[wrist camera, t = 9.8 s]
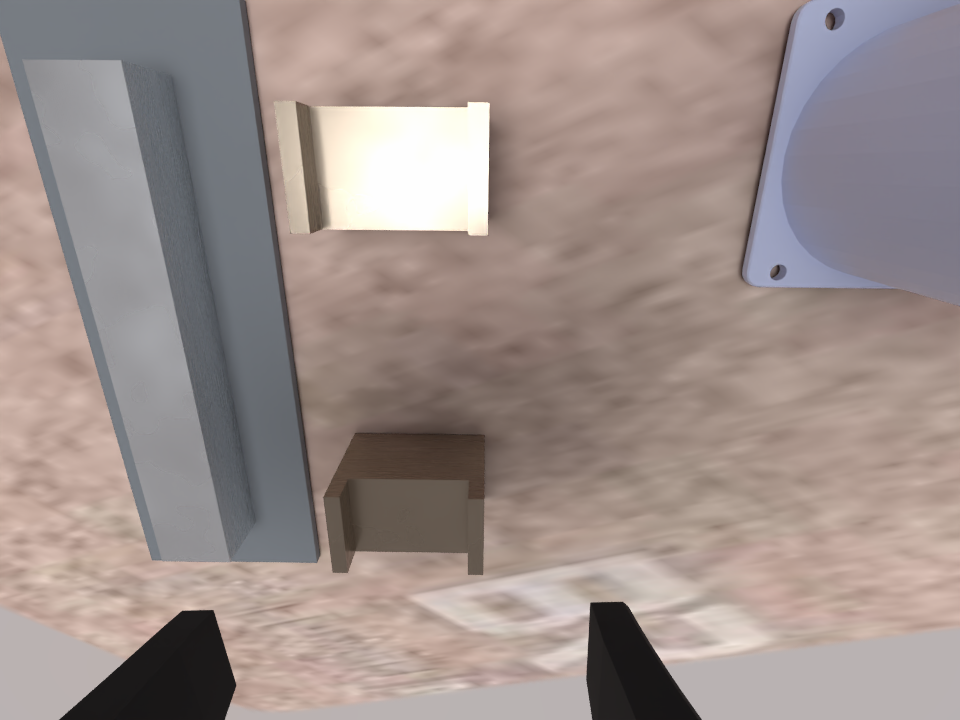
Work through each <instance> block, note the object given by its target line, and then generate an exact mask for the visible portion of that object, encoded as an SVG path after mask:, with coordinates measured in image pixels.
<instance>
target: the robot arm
mask: <svg viewBox="0 0 960 720" xmlns="http://www.w3.org/2000/svg"><path fill="white" fill-rule="evenodd" d="M829 12H830V13H833V15H834V16H835V25H834V27H833V29H832V30H829V29H828V28H827V27H826V25H825V18H826V16H827V14H828V13H829ZM776 265H779V266H780V271H779V273H778V275H776V276H775V277H773V278H771V277H770V272H771V270H772V268H773V267H774V266H776ZM742 276H743V278H744V280H745V281H746V282H747V283H748V284H750V285H752V286H756V287H787V288H882V289H902V290H905V291H908V292H912V293H915V294H919V295H922V296H926V297H929V298H933V299H936V300H940V301H943V302H947V303H950V304H954V305H957V306H960V0H811V1H809V2H807V3H806V4H804V5H803V6H801V7H800V8H799V9H798V10H797V11H796V13H795V14H794V16H793V19H792V22H791V26H790V31H789V36H788V42H787V47H786V52H785V57H784V62H783V67H782V72H781V77H780V82H779V87H778V92H777V97H776V102H775V107H774V112H773V118H772V123H771V128H770V133H769V138H768V143H767V148H766V153H765V158H764V163H763V168H762V173H761V178H760V183H759V189H758V194H757V199H756V204H755V209H754V214H753V219H752V224H751V229H750V234H749V239H748V244H747V249H746V254H745V259H744V265H743V270H742ZM586 678H587V679H586V680H587V687H588V693H589V700H590V707H591V714H592V720H702V719H701V718H700V717H699V715H698V714H697V713H696V711H695V709H694V708H693V707H692V705H691V704H690V702H689V701H688V700H687V698H686V697H685V695H684V694H683V693H682V691H681V690H680V688H679V687H678V685H677V684H676V682H675V681H674V679H673V678H672V676H671V675H670V673H669V672H668V670H667V669H666V667H665V666H664V664H663V663H662V661H661V660H660V658H659V656H658V655H657V653H656V652H655V650H654V649H653V647H652V645H651V644H650V642H649V641H648V639H647V637H646V636H645V634H644V633H643V631H642V629H641V628H640V626H639V624H638V622H637V621H636V619H635V617H634V616H633V614H632V612H631V610H630V609H629V607H628V606H627V605H626V604H625V603H624V602H595V603H590V620H589V639H588V658H587V677H586ZM235 688H236V682H235V679H234V676H233V673H232V669H231V666H230V663H229V659H228V656H227V653H226V650H225V646H224V643H223V640H222V637H221V633H220V630H219V627H218V623H217V620H216V617H215V614H214V610H198V611H182V612H180V613H179V614H178V615H177V616H176V617H175V618H173V619H172V620H171V621H170V622H169V623H168V624H166V625H165V626H164V627H163V628H162V629H161V630H160V631H158V632H157V633H156V634H155V635H154V636H153V637H152V638H151V639H149V640H148V641H147V642H146V643H145V644H144V645H143V646H142V647H141V648H139V649H138V650H137V651H136V652H135V653H134V654H133V655H132V656H131V657H129V658H128V659H127V660H126V661H125V662H124V663H123V664H122V665H121V666H120V667H118V668H117V669H116V670H115V671H114V672H113V673H112V674H110V675H109V676H108V677H107V678H106V679H105V680H104V681H103V682H101V683H100V684H99V685H98V686H97V687H96V688H95V689H94V690H92V691H91V692H90V693H89V694H88V695H87V696H86V697H84V698H83V699H82V700H81V701H80V702H79V703H78V704H77V705H76V706H74V707H73V708H72V709H71V710H70V711H69V712H68V713H66V714H65V715H64V716H63V717H62V718H61V719H60V720H225V717H226V714H227V711H228V708H229V705H230V702H231V700H232V697H233V694H234V691H235Z"/></svg>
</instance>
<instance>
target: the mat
mask: <svg viewBox="0 0 960 720" xmlns="http://www.w3.org/2000/svg"><path fill="white" fill-rule="evenodd" d="M0 35H1V38H2V42H3V45H4V49H5V52H6V56H7V59H8V62H9V66H10V69H11V73H12V76H13V80H14V83H15V87H16V90H17V94H18V97H19V101H20V104H21V107H22V111H23V114H24V118H25V121H26V125H27V128H28V132H29V135H30V139H31V142H32V146H33V149H34V153H35V156H36V159H37V163H38V166H39V170H40V173H41V177H42V180H43V184H44V187H45V191H46V194H47V198H48V201H49V205H50V208H51V211H52V215H53V218H54V222H55V225H56V229H57V232H58V236H59V239H60V243H61V246H62V250H63V253H64V257H65V260H66V263H67V267H68V270H69V274H70V277H71V281H72V284H73V288H74V291H75V295H76V298H77V302H78V305H79V309H80V312H81V315H82V319H83V322H84V326H85V329H86V333H87V336H88V340H89V343H90V347H91V350H92V354H93V357H94V360H95V364H96V367H97V371H98V374H99V378H100V381H101V385H102V388H103V392H104V395H105V399H106V402H107V406H108V409H109V412H110V416H111V419H112V423H113V426H114V430H115V433H116V437H117V440H118V444H119V447H120V451H121V454H122V458H123V461H124V464H125V468H126V471H127V475H128V478H129V482H130V485H131V489H132V492H133V496H134V499H135V503H136V506H137V510H138V513H139V516H140V520H141V523H142V527H143V530H144V534H145V537H146V541H147V544H148V548H149V551H150V555H151V558H152V560H162V559H161V555H160V551H159V548H158V544H157V541H156V537H155V534H154V530H153V526H152V523H151V519H150V516H149V512H148V508H147V505H146V501H145V498H144V494H143V491H142V487H141V483H140V480H139V476H138V473H137V469H136V466H135V462H134V458H133V455H132V451H131V448H130V444H129V440H128V437H127V433H126V430H125V426H124V423H123V419H122V415H121V412H120V408H119V405H118V401H117V398H116V394H115V390H114V387H113V383H112V380H111V376H110V372H109V369H108V365H107V362H106V358H105V355H104V351H103V347H102V344H101V340H100V337H99V333H98V330H97V326H96V322H95V319H94V315H93V312H92V308H91V304H90V301H89V297H88V294H87V290H86V287H85V283H84V279H83V276H82V272H81V269H80V265H79V262H78V258H77V254H76V251H75V247H74V244H73V240H72V236H71V233H70V229H69V226H68V222H67V219H66V215H65V211H64V208H63V204H62V201H61V197H60V193H59V190H58V186H57V183H56V179H55V176H54V172H53V168H52V165H51V161H50V158H49V154H48V151H47V147H46V143H45V140H44V136H43V133H42V129H41V125H40V122H39V118H38V115H37V111H36V108H35V104H34V100H33V97H32V93H31V90H30V86H29V83H28V79H27V75H26V72H25V68H24V65H23V61H22V59H23V60H122V61H125V62H128V63H132V64H135V65H138V66H142V67H145V68H149V69H152V70H155V71H159V72H162V73H165V74H169V75H172V76H173V81H174V87H175V92H176V97H177V103H178V108H179V113H180V119H181V124H182V129H183V135H184V140H185V145H186V151H187V156H188V162H189V167H190V172H191V178H192V183H193V188H194V194H195V199H196V204H197V210H198V215H199V220H200V226H201V231H202V236H203V242H204V247H205V252H206V258H207V263H208V268H209V274H210V279H211V284H212V290H213V295H214V300H215V306H216V311H217V316H218V322H219V327H220V332H221V338H222V343H223V349H224V354H225V359H226V365H227V370H228V375H229V381H230V386H231V391H232V397H233V402H234V407H235V413H236V418H237V423H238V429H239V434H240V439H241V445H242V450H243V455H244V461H245V466H246V471H247V477H248V482H249V487H250V493H251V498H252V503H253V509H254V514H255V519H256V523H255V525H254V526H253V528H252V529H251V531H250V532H249V534H248V535H247V537H246V539H245V540H244V542H243V543H242V545H241V546H240V548H239V549H238V551H237V552H236V554H235V555H234V557H233V558H232V560H231V561H235V562H301V563H317V562H318V559H319V557H320V552H319V545H318V537H317V530H316V522H315V515H314V507H313V500H312V493H311V485H310V478H309V470H308V463H307V456H306V448H305V441H304V433H303V426H302V419H301V411H300V404H299V396H298V389H297V381H296V374H295V367H294V359H293V352H292V344H291V337H290V330H289V322H288V315H287V307H286V300H285V293H284V285H283V278H282V270H281V263H280V256H279V248H278V241H277V233H276V226H275V218H274V211H273V204H272V196H271V189H270V181H269V174H268V167H267V159H266V152H265V144H264V137H263V130H262V122H261V115H260V107H259V100H258V92H257V85H256V78H255V70H254V63H253V55H252V48H251V41H250V33H249V26H248V18H247V11H246V4H245V0H0Z"/></svg>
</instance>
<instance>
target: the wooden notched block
mask: <svg viewBox="0 0 960 720" xmlns="http://www.w3.org/2000/svg"><path fill="white" fill-rule="evenodd" d="M274 107H275V115H276V123H277V131H278V139H279V147H280V155H281V163H282V171H283V179H284V187H285V195H286V203H287V211H288V219H289V227H290V234H311V233H314V232H316V231H319V230H322V229H339V230H442V231H468V235H488V174H489V103H477V102H468V107H342V106H307V105H305V104H302V103H299V102H296V101H274Z"/></svg>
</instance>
